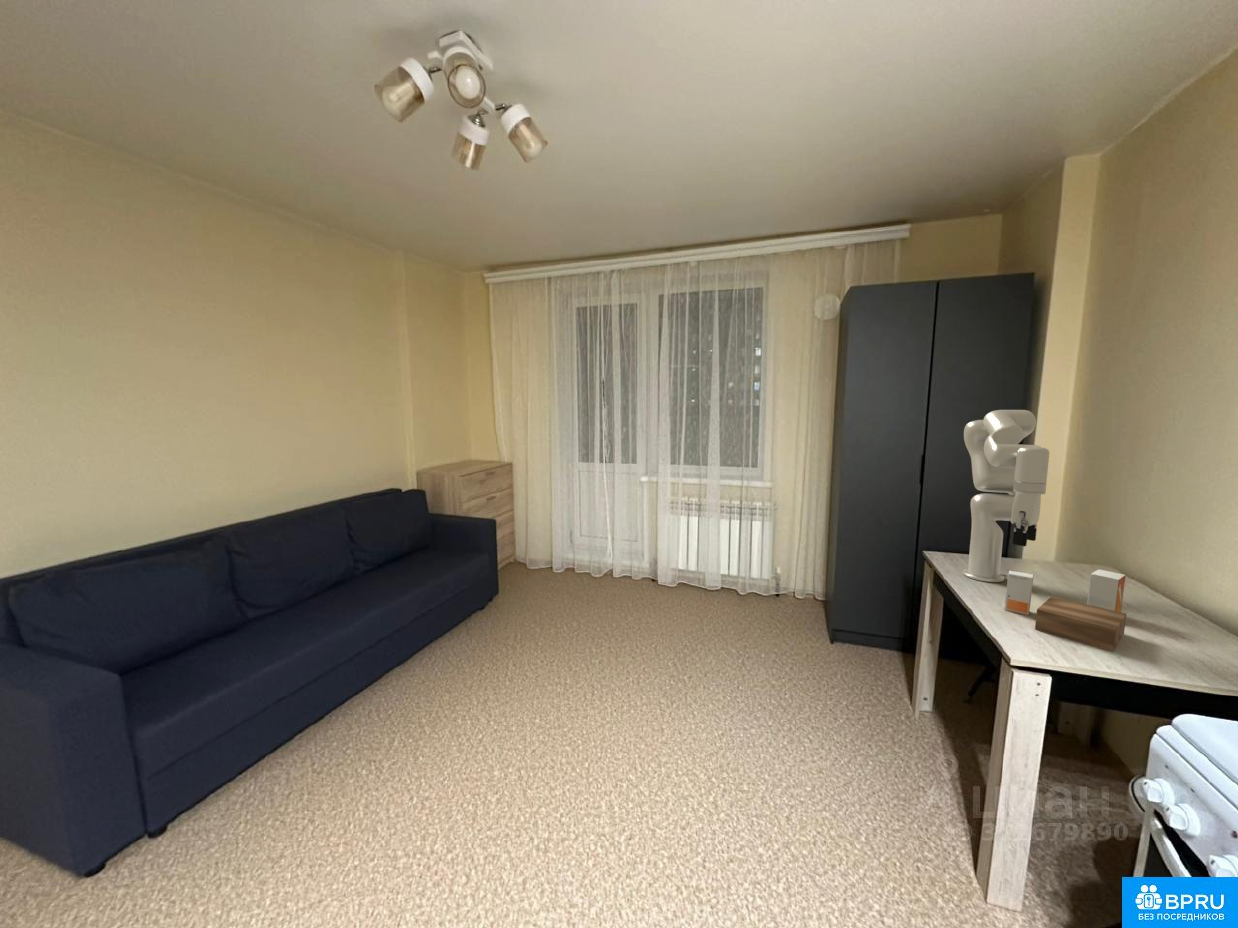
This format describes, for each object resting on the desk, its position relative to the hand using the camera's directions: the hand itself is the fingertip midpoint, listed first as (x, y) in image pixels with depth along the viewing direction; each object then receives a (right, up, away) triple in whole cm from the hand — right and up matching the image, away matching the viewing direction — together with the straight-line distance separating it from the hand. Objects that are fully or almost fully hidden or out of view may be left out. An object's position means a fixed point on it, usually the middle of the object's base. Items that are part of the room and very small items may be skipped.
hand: (1024, 542), depth 150 cm
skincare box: (0, -22, +3) cm, 22 cm away
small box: (+24, -22, 0) cm, 33 cm away
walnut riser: (+6, -24, -12) cm, 27 cm away
